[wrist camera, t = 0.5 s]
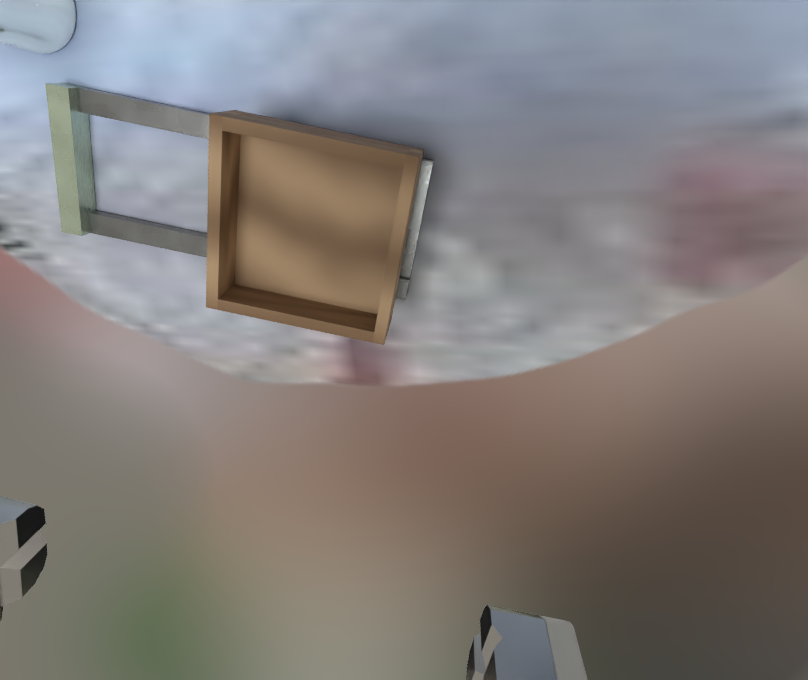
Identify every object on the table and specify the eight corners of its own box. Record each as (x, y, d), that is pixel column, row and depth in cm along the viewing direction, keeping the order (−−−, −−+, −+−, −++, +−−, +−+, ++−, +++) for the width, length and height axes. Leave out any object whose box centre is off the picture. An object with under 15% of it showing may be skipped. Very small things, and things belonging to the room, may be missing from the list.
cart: (247, 108, 37) (209, 113, 31) (425, 145, 37) (419, 157, 31) (239, 277, 42) (206, 307, 37) (394, 310, 42) (383, 344, 37)
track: (65, 83, 38) (45, 83, 37) (433, 160, 38) (432, 164, 36) (78, 225, 43) (61, 231, 41) (406, 294, 43) (404, 303, 41)
